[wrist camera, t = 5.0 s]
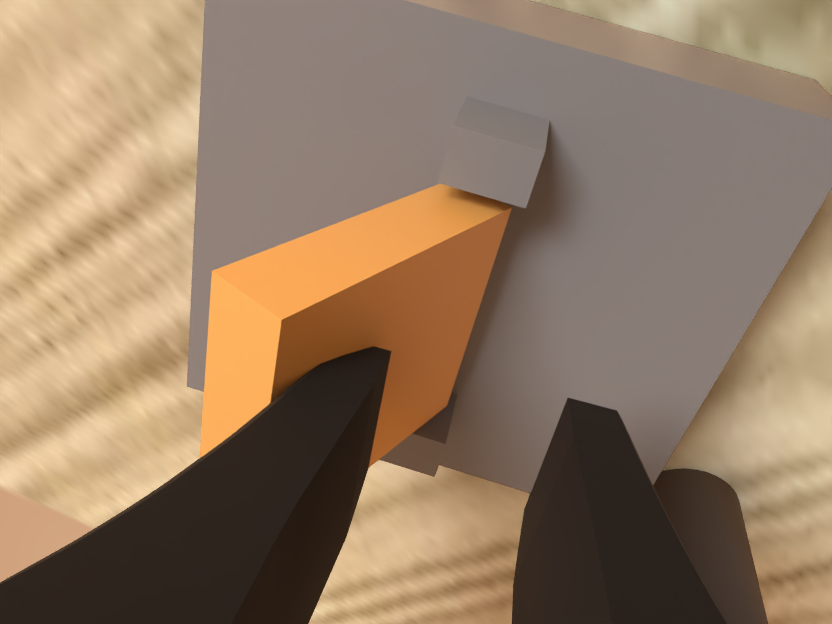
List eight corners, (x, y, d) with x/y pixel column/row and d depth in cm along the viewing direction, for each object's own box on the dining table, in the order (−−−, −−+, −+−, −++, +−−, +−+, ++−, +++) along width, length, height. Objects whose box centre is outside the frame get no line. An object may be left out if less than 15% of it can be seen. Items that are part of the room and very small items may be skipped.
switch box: (814, 79, 11) (903, 165, 8) (623, 436, 16) (633, 580, 13) (274, -71, 12) (158, -44, 9) (238, 319, 16) (154, 429, 13)
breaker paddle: (512, 207, 10) (281, 320, 7) (446, 405, 12) (248, 562, 9) (454, 178, 10) (211, 271, 7) (401, 374, 12) (196, 513, 9)
